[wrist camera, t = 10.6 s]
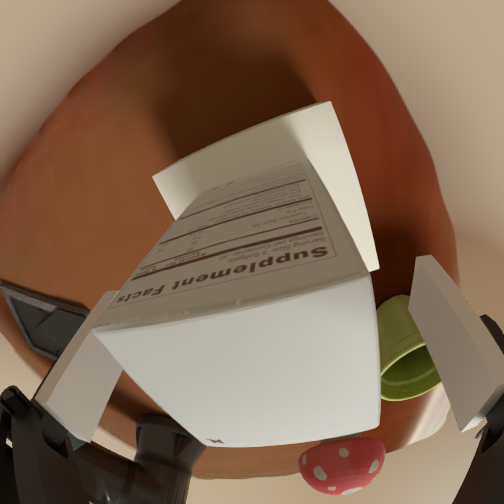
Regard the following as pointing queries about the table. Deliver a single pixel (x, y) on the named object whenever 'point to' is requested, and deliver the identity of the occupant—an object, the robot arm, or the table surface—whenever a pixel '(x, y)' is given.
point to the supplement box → (253, 316)
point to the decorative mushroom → (342, 463)
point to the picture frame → (43, 320)
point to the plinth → (273, 155)
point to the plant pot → (403, 353)
